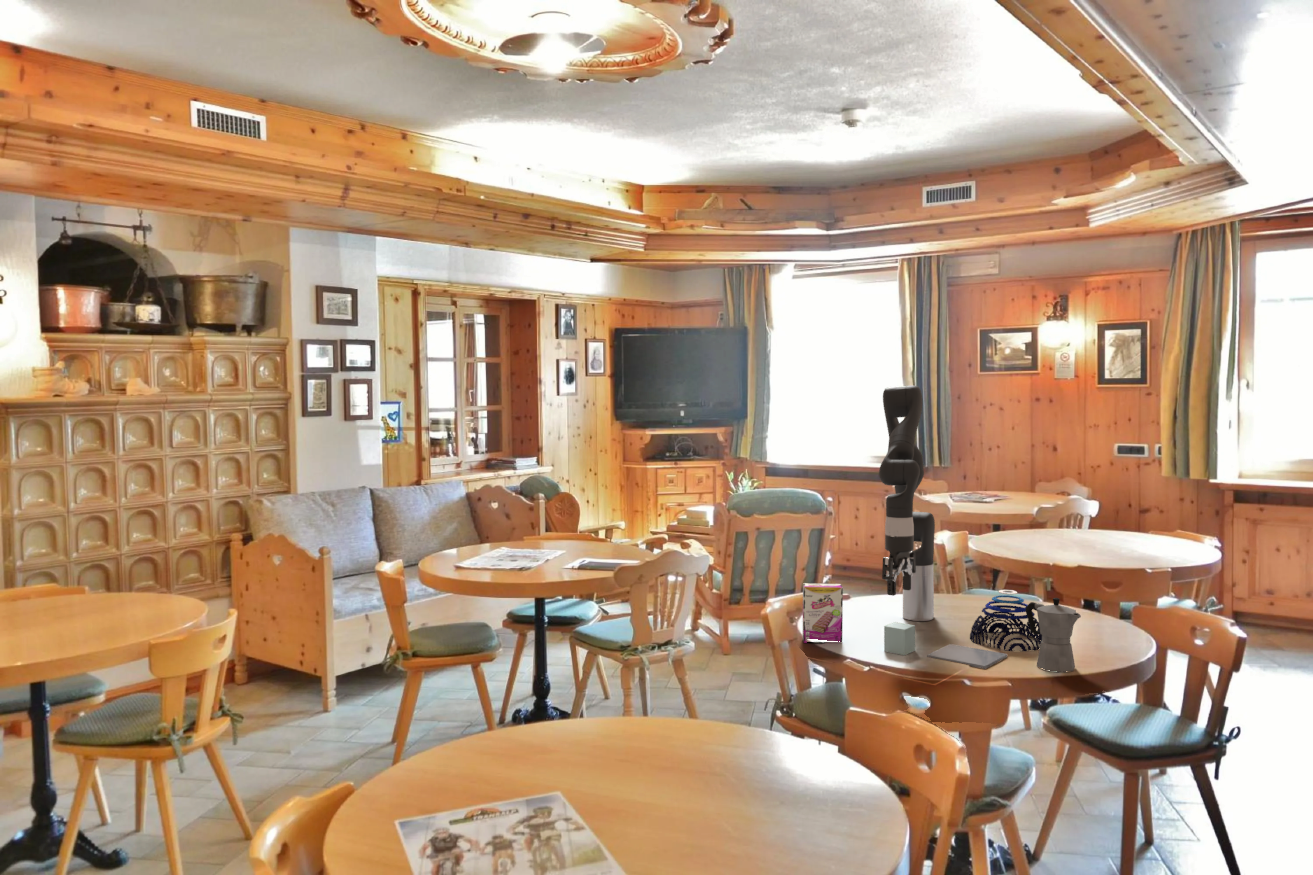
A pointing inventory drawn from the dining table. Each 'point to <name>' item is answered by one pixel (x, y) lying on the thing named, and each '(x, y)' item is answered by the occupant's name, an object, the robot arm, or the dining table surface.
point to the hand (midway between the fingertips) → (899, 592)
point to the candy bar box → (822, 611)
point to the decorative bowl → (1004, 629)
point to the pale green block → (899, 638)
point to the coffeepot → (1054, 635)
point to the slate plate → (968, 655)
